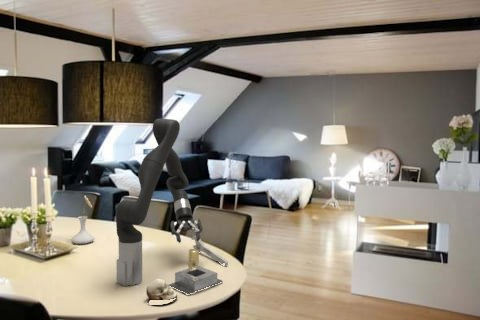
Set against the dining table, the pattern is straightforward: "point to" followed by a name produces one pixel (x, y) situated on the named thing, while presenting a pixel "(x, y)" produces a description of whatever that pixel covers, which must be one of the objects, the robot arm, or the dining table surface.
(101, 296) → the dining table surface
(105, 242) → the dining table surface
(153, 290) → the skull
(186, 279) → the grey square holder
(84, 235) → the flower in vase
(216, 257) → the wrench
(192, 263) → the brass fitting
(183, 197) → the robot arm
